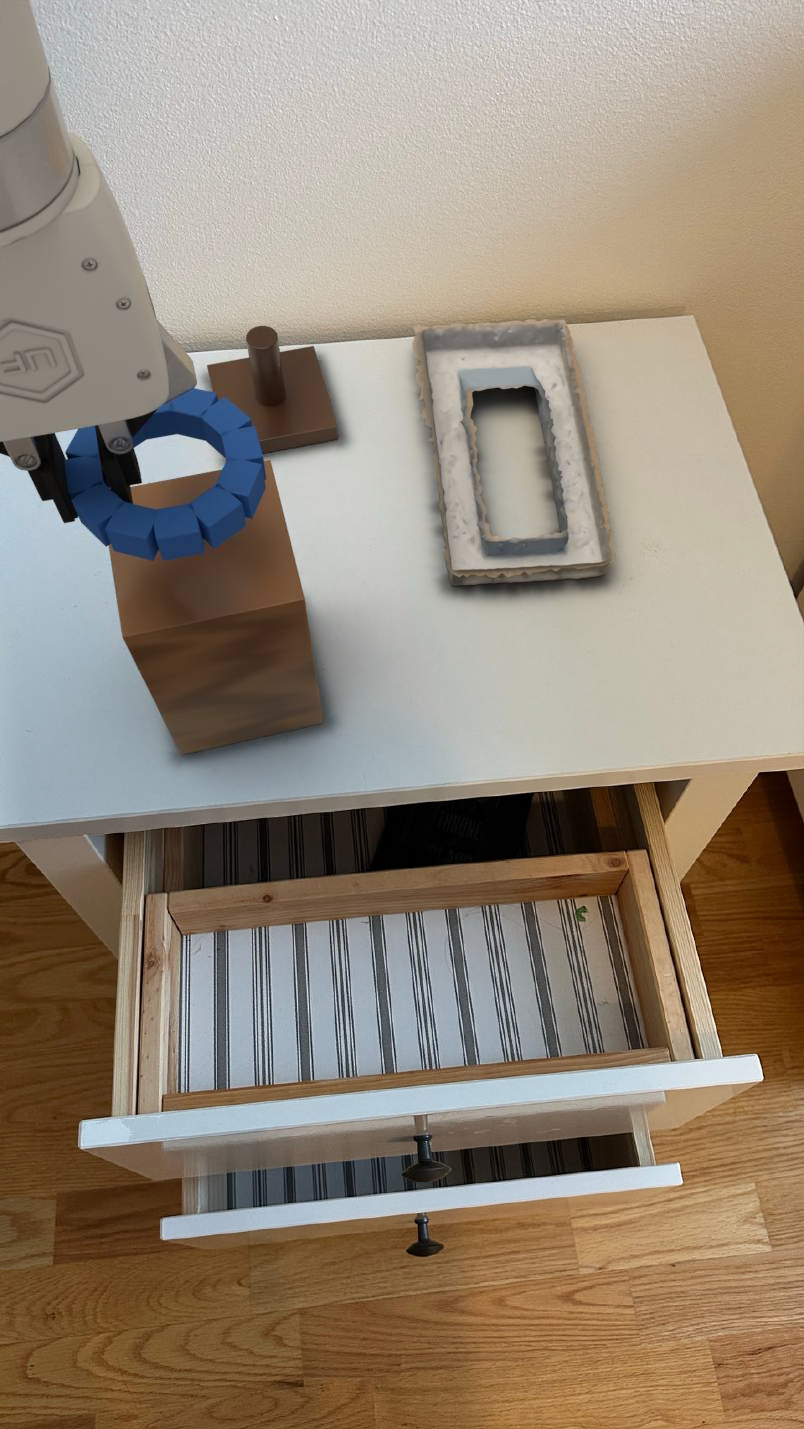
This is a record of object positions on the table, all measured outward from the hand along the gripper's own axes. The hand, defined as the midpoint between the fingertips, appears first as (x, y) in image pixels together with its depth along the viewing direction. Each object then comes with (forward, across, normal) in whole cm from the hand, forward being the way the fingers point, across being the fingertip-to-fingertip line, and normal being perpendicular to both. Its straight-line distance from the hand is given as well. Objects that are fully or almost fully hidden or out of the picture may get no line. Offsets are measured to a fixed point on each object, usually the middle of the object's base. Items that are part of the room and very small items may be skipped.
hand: (95, 493), depth 49 cm
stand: (+22, +4, 0) cm, 22 cm away
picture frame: (+22, +28, +14) cm, 39 cm away
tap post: (+22, +12, +24) cm, 34 cm away
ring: (0, +4, 0) cm, 4 cm away
